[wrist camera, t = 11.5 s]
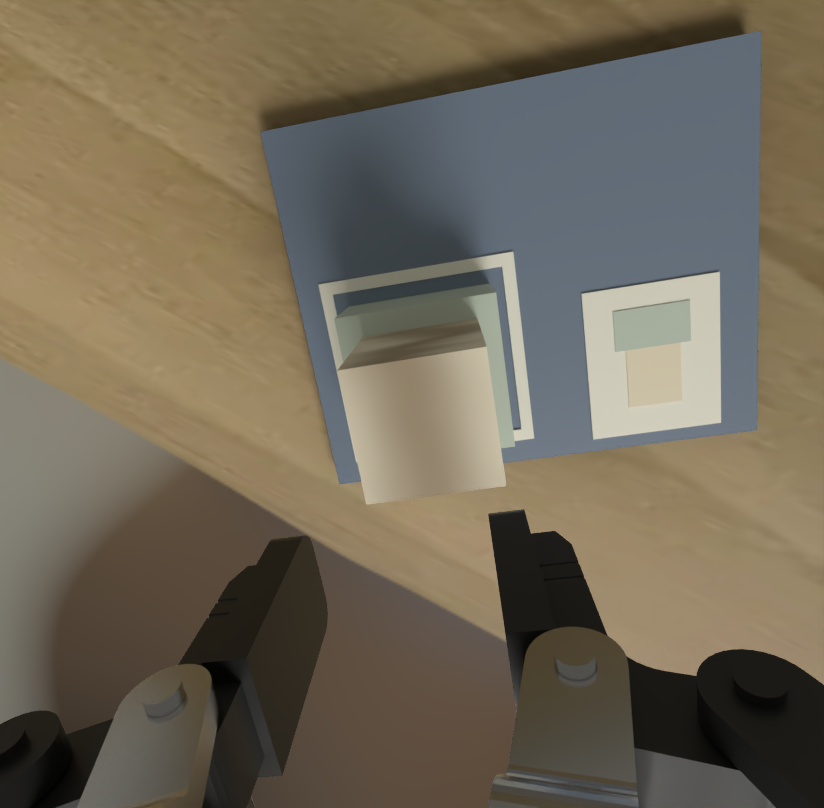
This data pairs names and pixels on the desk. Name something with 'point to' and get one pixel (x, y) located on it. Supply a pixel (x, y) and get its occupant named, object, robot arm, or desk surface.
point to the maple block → (422, 412)
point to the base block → (435, 312)
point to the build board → (552, 239)
